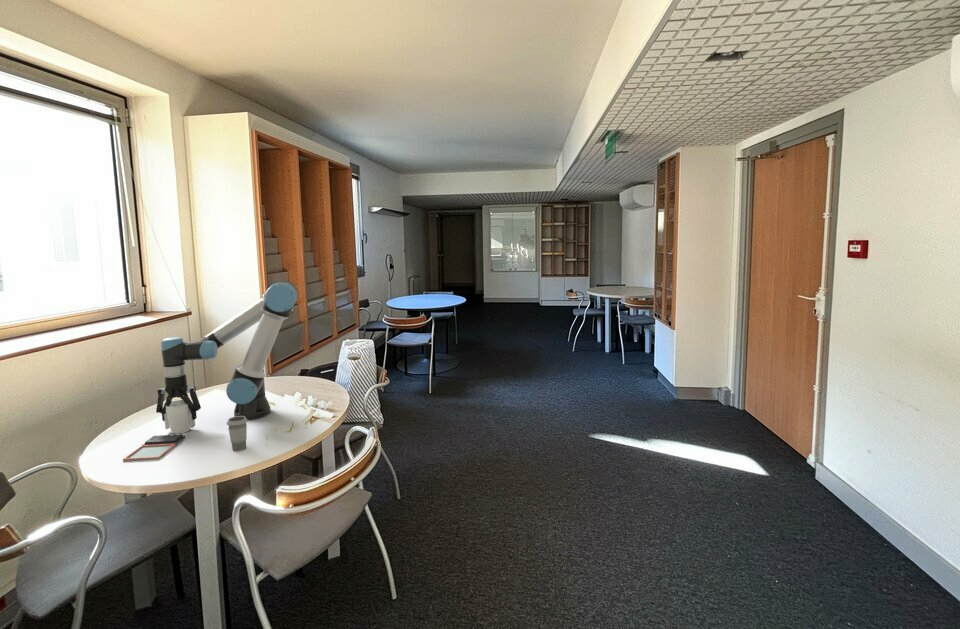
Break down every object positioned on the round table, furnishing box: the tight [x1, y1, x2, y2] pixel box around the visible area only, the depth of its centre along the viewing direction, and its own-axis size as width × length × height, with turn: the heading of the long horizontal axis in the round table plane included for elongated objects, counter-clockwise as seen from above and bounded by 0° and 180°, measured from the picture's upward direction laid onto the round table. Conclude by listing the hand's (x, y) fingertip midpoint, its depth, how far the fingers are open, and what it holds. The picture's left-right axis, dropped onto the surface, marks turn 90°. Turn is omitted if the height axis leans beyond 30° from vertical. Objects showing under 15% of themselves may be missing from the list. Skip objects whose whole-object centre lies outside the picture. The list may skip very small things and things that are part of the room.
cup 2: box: [226, 416, 248, 452], centre depth 181 cm, size 7×7×12 cm
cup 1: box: [166, 399, 191, 435], centre depth 199 cm, size 9×9×12 cm
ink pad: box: [141, 433, 186, 446], centre depth 188 cm, size 12×8×2 cm, turn 97°
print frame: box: [122, 444, 177, 463], centre depth 178 cm, size 12×12×1 cm
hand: (180, 427), depth 200 cm, fingers closed on cup 1, 9 cm apart
